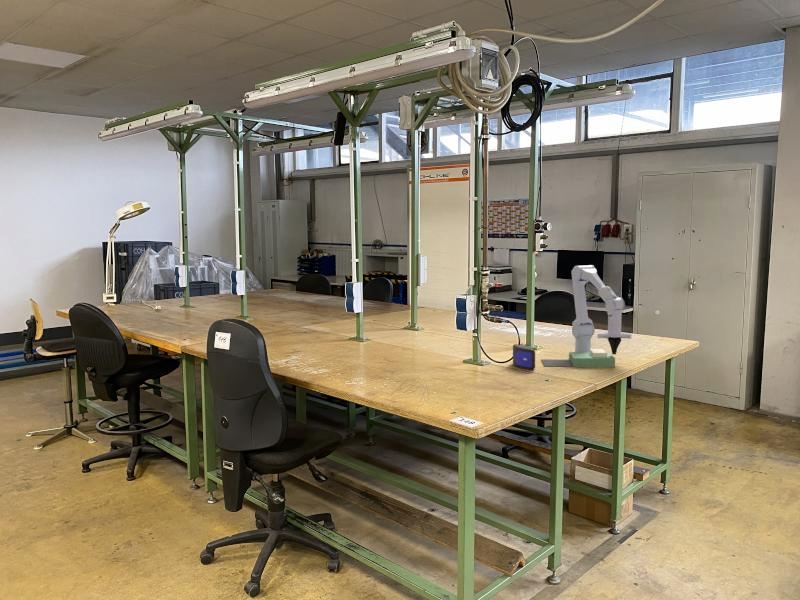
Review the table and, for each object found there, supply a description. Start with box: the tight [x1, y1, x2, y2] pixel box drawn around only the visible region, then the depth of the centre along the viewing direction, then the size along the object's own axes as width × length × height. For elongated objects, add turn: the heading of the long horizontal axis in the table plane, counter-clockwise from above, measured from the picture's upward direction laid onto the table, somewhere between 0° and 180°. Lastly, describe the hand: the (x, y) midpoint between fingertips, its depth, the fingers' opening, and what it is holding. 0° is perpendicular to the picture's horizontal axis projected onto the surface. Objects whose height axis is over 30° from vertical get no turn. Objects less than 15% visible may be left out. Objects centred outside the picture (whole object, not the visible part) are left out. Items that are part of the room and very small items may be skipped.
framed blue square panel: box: [512, 343, 536, 371], centre depth 277 cm, size 16×5×9 cm, turn 22°
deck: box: [568, 351, 616, 368], centre depth 281 cm, size 14×18×4 cm
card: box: [590, 348, 608, 357], centre depth 280 cm, size 9×6×2 cm, turn 172°
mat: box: [540, 358, 574, 368], centre depth 283 cm, size 14×13×1 cm
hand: (613, 353), depth 279 cm, fingers closed
